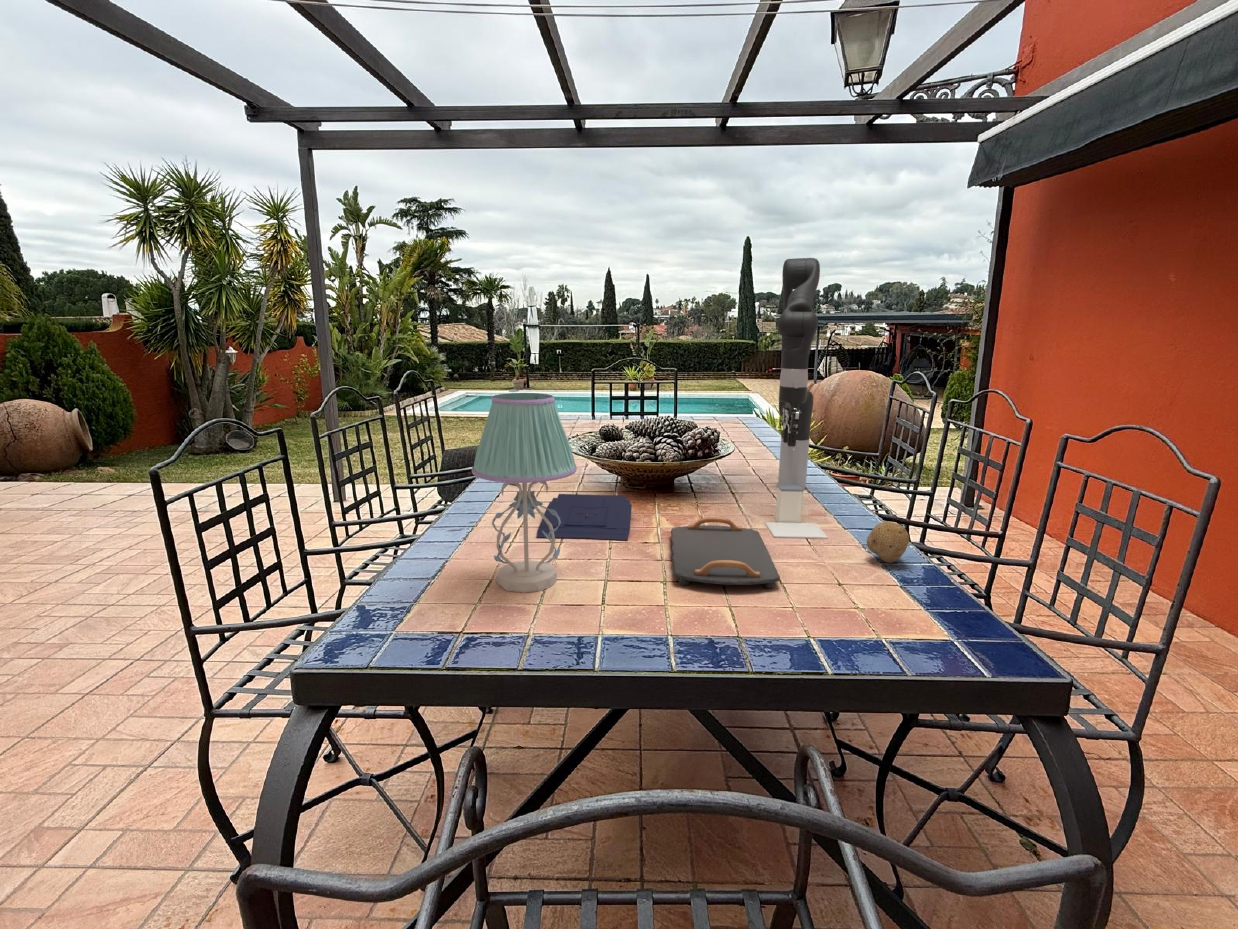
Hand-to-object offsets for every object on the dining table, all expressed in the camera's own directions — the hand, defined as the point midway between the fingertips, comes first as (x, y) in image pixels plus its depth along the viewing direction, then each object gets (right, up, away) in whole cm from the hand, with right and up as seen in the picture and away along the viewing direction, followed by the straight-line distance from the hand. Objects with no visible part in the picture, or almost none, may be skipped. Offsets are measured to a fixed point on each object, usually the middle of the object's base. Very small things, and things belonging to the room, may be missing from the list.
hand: (789, 444), depth 183 cm
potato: (+15, -29, -31) cm, 45 cm away
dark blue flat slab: (-57, -22, -3) cm, 62 cm away
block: (0, -22, 0) cm, 22 cm away
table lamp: (-69, -31, -44) cm, 88 cm away
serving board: (-25, -29, -31) cm, 49 cm away
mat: (-1, -24, -9) cm, 26 cm away
